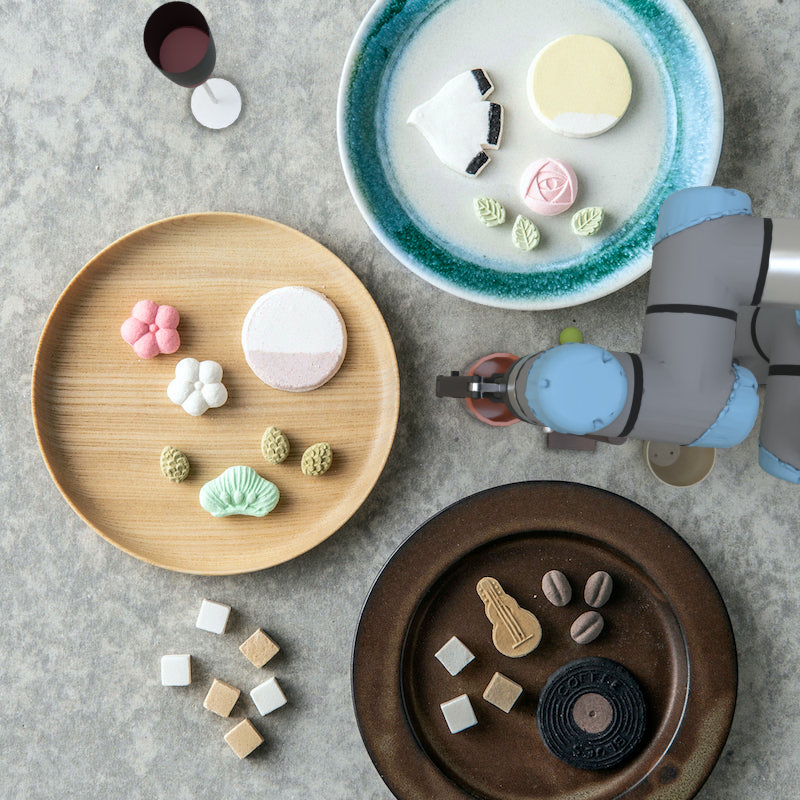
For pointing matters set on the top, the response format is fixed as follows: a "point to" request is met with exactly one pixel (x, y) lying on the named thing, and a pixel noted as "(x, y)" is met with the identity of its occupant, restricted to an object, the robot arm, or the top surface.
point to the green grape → (570, 335)
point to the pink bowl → (484, 407)
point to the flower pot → (678, 463)
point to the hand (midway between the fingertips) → (509, 389)
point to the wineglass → (191, 61)
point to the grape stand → (579, 441)
